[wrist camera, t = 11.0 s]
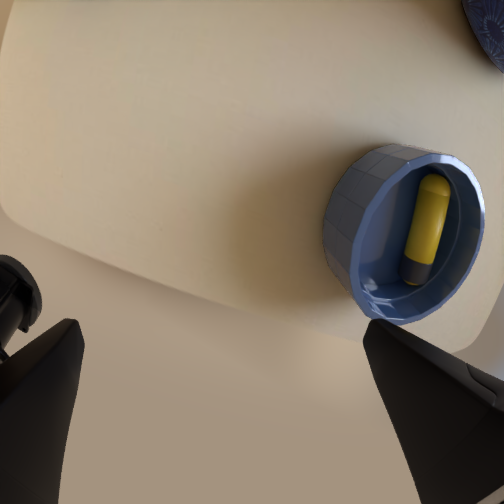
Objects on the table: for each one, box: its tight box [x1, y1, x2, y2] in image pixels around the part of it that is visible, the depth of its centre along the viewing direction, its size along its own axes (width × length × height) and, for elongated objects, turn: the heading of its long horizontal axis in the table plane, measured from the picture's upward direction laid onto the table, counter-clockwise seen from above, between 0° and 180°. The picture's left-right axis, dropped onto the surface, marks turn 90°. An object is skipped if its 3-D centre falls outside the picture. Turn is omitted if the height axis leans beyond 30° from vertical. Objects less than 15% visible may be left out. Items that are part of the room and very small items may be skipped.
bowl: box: [323, 144, 485, 325], centre depth 18 cm, size 12×12×5 cm
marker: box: [398, 174, 451, 285], centre depth 19 cm, size 9×3×3 cm
